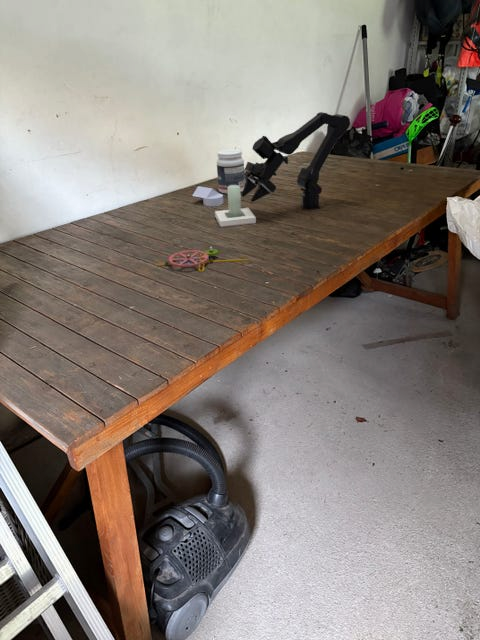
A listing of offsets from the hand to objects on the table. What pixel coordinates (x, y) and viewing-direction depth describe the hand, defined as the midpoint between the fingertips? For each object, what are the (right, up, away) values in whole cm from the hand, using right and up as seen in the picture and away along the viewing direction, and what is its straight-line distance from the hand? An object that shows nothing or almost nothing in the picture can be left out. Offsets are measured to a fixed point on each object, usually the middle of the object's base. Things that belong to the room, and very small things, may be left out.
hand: (246, 198), depth 200 cm
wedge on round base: (-16, +4, +26) cm, 31 cm away
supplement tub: (-7, +14, +42) cm, 45 cm away
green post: (-5, -8, +2) cm, 9 cm away
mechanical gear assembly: (-15, -30, -35) cm, 49 cm away
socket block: (-5, -8, +2) cm, 10 cm away
